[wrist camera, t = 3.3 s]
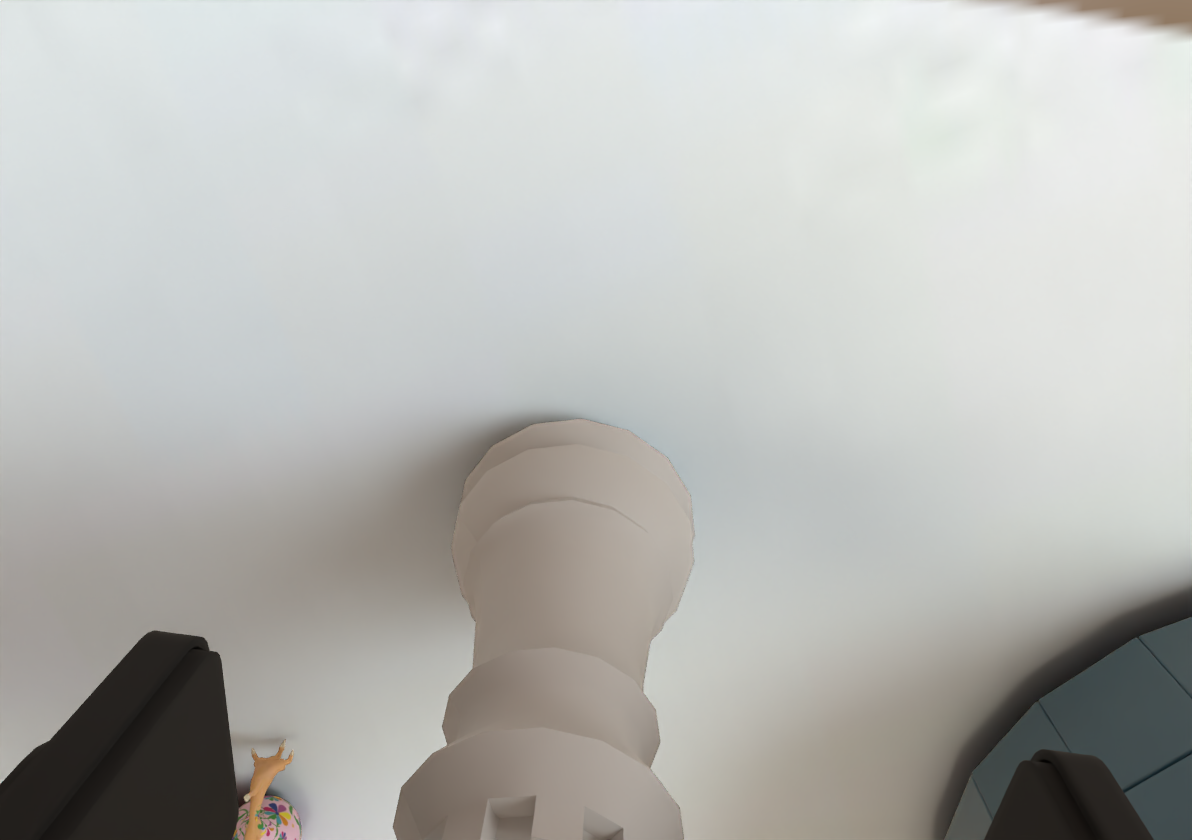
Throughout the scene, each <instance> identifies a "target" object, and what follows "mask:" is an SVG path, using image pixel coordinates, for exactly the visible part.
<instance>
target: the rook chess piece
mask: <svg viewBox="0 0 1192 840" xmlns="http://www.w3.org/2000/svg"><path fill="white" fill-rule="evenodd" d="M694 536H695V533H694V524H693V514H692V505H691V495H690V493H689V492H688V490H687V489H686V487H685V485H684V484H683V482H682V480H681V479H680V477H679V475H678V474H677V472H676V471H675V469H674V467H673V466H672V464H671V462H670V461H669V459H668V458H667V457H666V456H664V455H663V454H662V453H660V452H659V451H657V450H656V449H654V448H653V447H652V446H650V445H649V444H647V443H646V442H645V441H643V440H642V439H640V438H639V437H638V436H636V435H635V434H633V433H632V432H630V431H629V430H625V429H621V428H617V427H613V426H609V425H605V424H601V423H597V422H593V421H589V420H585V419H573V420H565V421H556V422H547V423H538V424H532V425H530V426H528V427H526V428H525V429H523V430H521V431H519V432H517V433H515V434H513V435H511V436H510V437H508V438H506V439H504V440H502V441H500V442H498V443H496V444H495V445H493V446H491V448H490V449H489V450H488V452H487V453H486V454H485V455H484V457H483V458H482V459H481V460H480V462H479V463H478V464H477V466H476V467H475V468H474V469H473V471H472V472H471V473H470V475H469V476H468V477H467V478H466V480H465V484H464V489H463V494H462V498H461V503H460V506H459V511H458V515H457V520H456V525H455V529H454V534H453V539H452V543H451V548H452V556H453V561H454V565H455V569H456V573H457V577H458V581H459V585H460V589H461V593H462V596H463V597H464V599H465V600H466V601H467V602H468V604H469V608H470V612H471V616H472V618H473V619H474V621H475V622H476V626H475V640H474V655H473V669H472V670H471V671H470V672H469V673H468V675H467V676H466V677H465V678H464V679H463V680H462V681H461V682H460V684H459V685H458V686H457V687H456V688H455V689H454V690H453V691H452V692H451V694H450V695H449V699H448V703H447V707H446V712H445V716H444V720H443V724H442V728H443V731H444V735H445V738H446V742H447V746H445V747H443V748H442V749H440V750H438V751H436V752H434V753H432V755H431V756H430V757H429V758H428V759H427V760H426V761H425V762H424V763H423V764H422V765H421V766H420V768H419V769H418V770H417V771H416V772H415V773H414V774H413V775H412V776H411V777H410V778H409V780H408V781H407V782H406V783H405V784H404V785H403V786H402V787H401V791H400V796H399V800H398V805H397V810H396V814H395V819H394V824H393V829H394V832H395V835H396V837H397V840H684V835H683V828H682V821H681V813H680V807H679V806H678V805H677V803H676V802H675V801H674V799H673V798H672V797H671V795H670V794H669V793H668V791H667V790H666V789H665V787H664V786H663V785H662V783H661V782H660V781H659V779H658V778H657V777H656V775H655V774H654V773H653V771H652V770H651V769H650V767H651V765H652V762H653V760H654V757H655V755H656V752H657V750H658V747H659V744H660V736H659V729H658V722H657V715H656V709H655V708H654V707H653V705H652V704H651V702H650V701H649V700H648V698H647V697H646V695H645V694H644V693H643V683H644V678H645V672H646V666H647V660H648V654H649V648H650V642H651V640H652V639H653V638H654V637H655V636H656V635H657V634H658V633H659V632H660V631H661V630H662V627H663V625H664V623H665V622H666V621H667V620H668V619H669V618H670V617H671V616H672V615H673V614H674V613H675V612H676V610H677V608H678V605H679V602H680V600H681V597H682V594H683V592H684V589H685V586H686V584H687V581H688V578H689V575H690V573H691V570H692V567H693V565H694V553H693V544H692V542H693V539H694Z"/></svg>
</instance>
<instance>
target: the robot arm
mask: <svg viewBox="0 0 1192 840" xmlns="http://www.w3.org/2000/svg"><path fill="white" fill-rule="evenodd" d="M238 815H239V806H238V797H237V789H236V781H235V772H234V764H233V755H232V747H231V739H230V730H229V722H228V713H227V705H226V696H225V688H224V680H223V671H222V663H221V658H220V655H219V654H218V653H217V652H213V651H209V647H208V643H207V641H206V640H205V639H204V638H203V637H198V636H191V635H183V634H176V633H168V632H161V631H152V632H149V633H147V634H146V635H145V636H144V637H142V638H141V639H140V640H139V641H138V642H137V644H136V645H135V646H134V647H133V648H132V649H131V650H130V651H129V653H128V654H127V655H126V656H125V657H124V658H123V659H122V660H121V661H120V663H119V664H118V665H117V666H116V667H115V668H114V669H113V670H112V672H111V673H110V674H109V675H108V676H107V677H106V678H105V679H104V680H103V682H102V683H101V684H100V685H99V686H98V687H97V688H96V689H95V691H94V692H93V693H92V694H91V695H90V696H89V697H88V698H87V699H86V701H85V702H84V703H83V704H82V705H81V706H80V707H79V708H78V710H77V711H76V712H75V713H74V714H73V715H72V716H71V717H70V718H69V720H68V721H67V722H66V723H65V724H64V725H63V726H62V727H61V729H60V730H59V731H58V732H57V733H56V734H55V735H54V736H53V737H52V739H51V740H50V741H48V742H46V743H44V744H42V745H40V746H38V747H36V748H35V749H34V750H33V751H32V752H31V753H30V754H29V755H28V756H26V757H25V758H24V759H23V760H22V761H21V762H20V763H19V764H18V766H17V767H16V768H15V769H14V770H13V771H12V772H11V773H10V774H9V775H8V777H7V778H6V779H5V780H4V781H3V782H2V783H1V784H0V840H232V838H233V835H234V832H235V830H236V826H237V822H238ZM984 840H1154V839H1153V837H1152V836H1151V834H1150V833H1149V831H1148V830H1147V828H1146V826H1145V825H1144V823H1143V822H1142V820H1141V819H1140V817H1139V815H1138V814H1137V812H1136V811H1135V809H1134V808H1133V806H1132V804H1131V803H1130V801H1129V800H1128V798H1127V797H1126V795H1125V794H1124V792H1123V790H1122V789H1121V787H1120V786H1119V784H1118V783H1117V781H1116V779H1115V778H1114V776H1113V775H1112V773H1111V772H1110V770H1109V769H1108V767H1107V766H1106V765H1105V764H1104V762H1103V761H1102V760H1100V759H1099V758H1097V757H1096V756H1092V755H1084V754H1077V753H1069V752H1062V751H1054V750H1046V749H1041V750H1039V751H1037V752H1036V753H1035V754H1034V755H1033V757H1032V758H1031V760H1030V761H1029V760H1024V761H1022V762H1020V764H1019V765H1018V767H1017V768H1016V771H1015V773H1014V775H1013V777H1012V779H1011V781H1010V784H1009V786H1008V788H1007V790H1006V792H1005V795H1004V797H1003V799H1002V801H1001V803H1000V806H999V808H998V810H997V812H996V814H995V816H994V819H993V821H992V823H991V825H990V827H989V830H988V832H987V834H986V836H985V838H984Z"/></svg>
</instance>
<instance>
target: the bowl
mask: <svg viewBox="0 0 1192 840" xmlns="http://www.w3.org/2000/svg"><path fill="white" fill-rule="evenodd" d="M1038 701H1039V702H1038ZM1038 701H1036V702H1035V703H1034V704H1033V705H1032V706H1031V707H1030V708H1029V710H1028V711H1027V712H1026V713H1025V714H1024V715H1023V716H1022V717H1021V718H1020V719H1019V721H1018V722H1017V723H1016V724H1015V725H1014V726H1013V727H1012V728H1011V729H1010V730H1009V732H1008V733H1007V734H1006V735H1005V736H1004V737H1003V738H1002V739H1001V740H1000V742H999V743H998V744H997V745H996V746H995V747H994V748H993V749H992V750H991V751H990V753H989V754H988V755H987V756H986V757H985V758H984V759H983V760H982V761H981V763H980V764H979V765H978V766H977V767H976V768H975V769H974V770H973V771H972V775H971V776H970V778H969V780H968V782H967V785H966V787H965V790H964V792H963V794H962V797H961V799H960V802H959V804H958V807H957V809H956V811H955V814H954V816H953V819H952V821H951V823H950V826H949V828H948V831H947V833H946V835H945V838H944V840H984V838H985V836H986V834H987V832H988V830H989V827H990V825H991V823H992V821H993V819H994V816H995V814H996V812H997V810H998V808H999V806H1000V803H1001V801H1002V799H1003V797H1004V795H1005V792H1006V790H1007V788H1008V786H1009V784H1010V781H1011V779H1012V777H1013V775H1014V773H1015V771H1016V768H1017V767H1018V765H1019V764H1020V762H1022V761H1024V760H1029V761H1030V760H1031V758H1032V757H1033V755H1034V754H1035V753H1036V752H1037V751H1039V750H1041V749H1046V750H1054V751H1062V752H1069V753H1077V754H1084V755H1092V756H1096V757H1097V758H1099V759H1100V760H1102V761H1103V762H1104V764H1105V765H1106V766H1107V767H1108V769H1109V770H1110V772H1111V773H1112V775H1113V776H1114V778H1115V779H1116V781H1117V783H1118V784H1119V786H1120V787H1121V789H1122V790H1123V792H1124V794H1125V795H1126V797H1127V798H1128V800H1129V801H1130V803H1131V804H1132V806H1133V808H1134V809H1135V811H1136V812H1137V814H1138V815H1139V817H1140V819H1141V820H1142V822H1143V823H1144V825H1145V826H1146V828H1147V830H1148V831H1149V833H1150V834H1151V836H1152V837H1153V839H1154V840H1192V616H1191V617H1189V618H1186V619H1183V620H1180V621H1178V622H1175V623H1172V624H1170V625H1167V626H1164V627H1161V628H1159V629H1156V630H1153V631H1150V632H1148V633H1145V634H1142V635H1140V636H1139V638H1133V639H1132V640H1130V641H1129V642H1127V643H1126V644H1124V645H1122V646H1121V647H1119V648H1118V649H1116V650H1115V651H1113V652H1112V653H1110V654H1108V655H1107V656H1105V657H1104V658H1102V659H1101V660H1099V661H1098V662H1096V663H1095V664H1093V665H1091V666H1090V667H1088V668H1087V669H1085V670H1084V671H1082V672H1081V673H1079V674H1077V675H1076V676H1074V677H1073V678H1071V679H1070V680H1068V681H1067V682H1065V683H1064V684H1062V685H1060V686H1059V687H1057V688H1056V689H1054V690H1053V691H1051V692H1050V693H1048V694H1046V695H1045V696H1043V697H1042V698H1040V699H1039V700H1038Z"/></svg>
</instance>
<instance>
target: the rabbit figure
mask: <svg viewBox="0 0 1192 840" xmlns="http://www.w3.org/2000/svg"><path fill="white" fill-rule="evenodd" d="M285 742H286V739H285V740H284V741H283V743H282V744H281V745H280V747H279V751H278V753H277V754H276V755H275V756H271V757H269V758H263V757H261V758H259V757H258V756H257V754H256V752H255V750H254V749H253V748H252V752H251V753H252V757H253V759H254V760H255V762H254V767H255V771H254V775H253V777H252V779H251V785H250V792H249V794H246V795H245V796H244V800H245V801H246V802H247V801H249V799H250V798H251V800H250V801H249V802H247V803H245V804H244V805H242V806H241V807H240V808H239V815H238V822H237V826H236V830H235V832H234V835H233V838H232V840H301V823H300V818H299V816H298V813H297V812H296V810H295V809H294V807H293V806H292V805H291V804H290V803H289V802H287V801H286V800H284V799H282V798H280V797H277V796H270V795H269V796H264V795H265V793H266V791H267V789H268V787H269V785H270V784H271V782H272V780H273V778H274V777H275V775H276V774H277V773H278V772H279V771H283V770H284V769H285V765H287V764H289V763H291V762H292V758H293V755H294V751H293V750H292V752H291V753H290V755H289V758H288V759H287V760H284V759H280V758H281V754H282V752H283V750H284V748H285Z"/></svg>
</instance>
